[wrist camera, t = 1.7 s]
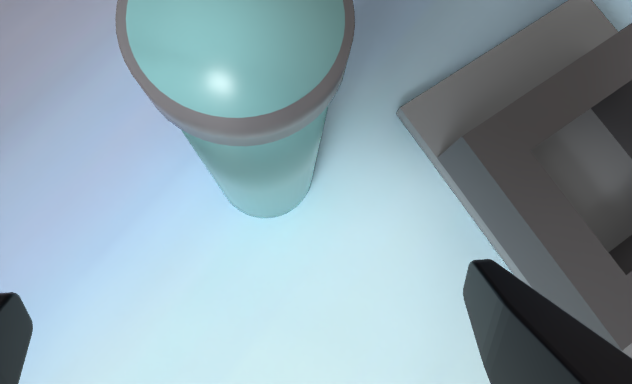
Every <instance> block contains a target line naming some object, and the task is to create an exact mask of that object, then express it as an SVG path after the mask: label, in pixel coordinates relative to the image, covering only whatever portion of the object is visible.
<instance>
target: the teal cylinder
mask: <svg viewBox="0 0 632 384" xmlns="http://www.w3.org/2000/svg"><path fill="white" fill-rule="evenodd" d="M354 27H355V17H354V7H353V1H352V0H118V2H117V8H116V34H117V38H118V43H119V48H120V50H121V53H122V56H123V58H124V61H125V63H126V65H127V66H128V68H129V70H130V72H131V74H132V75H133V77H134V78H135V79H136V81H137V82H138V84H139V85H140V86H141V88H142V89H143V90H144V92H145V93H146V95H147V96H148V97H149V99H150V100H151V101H152V103H153V104H154V105H155V107H156V108H157V109H158V110H159V111H160V112H161V113H162V114H163V115H164V116H165V117H166V118H167V119H168V120H169V121H170V122H172V123H173V124H174V125H175V126H177V127H178V128H180V129H181V130H182V132H183V133H184V135H185V136H186V138H187V139H188V141H189V142H190V144H191V145H192V147H193V148H194V150H195V151H196V153H197V154H198V156H199V157H200V159H201V160H202V162H203V163H204V165H205V166H206V168H207V169H208V171H209V172H210V174H211V175H212V177H213V178H214V180H215V181H216V183H217V184H218V186H219V187H220V189H221V190H222V192H223V193H224V195H225V196H226V198H227V199H228V200H229V202H230V203H231V204H232V205H233V206H234V207H235V208H237V209H238V210H240V211H241V212H243V213H245V214H247V215H250V216H253V217H258V218H272V217H277V216H281V215H283V214H286V213H288V212H289V211H291V210H293V209H294V208H295V207H297V206H298V205H299V204H300V203H301V201H302V200H303V199H304V198H305V196H306V194H307V192H308V190H309V188H310V184H311V180H312V176H313V171H314V167H315V163H316V158H317V154H318V149H319V145H320V140H321V136H322V131H323V127H324V122H325V118H326V113H327V109H328V105H329V103H330V102H331V101H332V99H333V97H334V96H335V94H336V92H337V91H338V88H339V86H340V84H341V81H342V79H343V75H344V72H345V68H346V64H347V60H348V57H349V53H350V49H351V45H352V41H353V36H354Z"/></svg>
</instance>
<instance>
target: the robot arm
mask: <svg viewBox="0 0 632 384" xmlns="http://www.w3.org/2000/svg"><path fill="white" fill-rule="evenodd" d="M463 296H464V301H465V305H466V308H467V311H468V315H469V318H470V322H471V325H472V328H473V332H474V335H475V338H476V342H477V345H478V349H479V352H480V355H481V359H482V362H483V365H484V368H485V370H486V373H487V375H488V378H489V380H490V383H491V384H632V358H631V357H629V356H628V355H627V354H625V353H624V352H622V351H621V350H619V349H618V348H617V347H615V346H614V345H612V344H611V343H609V342H608V341H607V340H605V339H604V338H602V337H601V336H600V335H598V334H597V333H595V332H594V331H592V330H591V329H590V328H588V327H587V326H585V325H584V324H582V323H581V322H580V321H578V320H577V319H575V318H574V317H573V316H571V315H570V314H568V313H567V312H565V311H564V310H563V309H561V308H560V307H558V306H557V305H555V304H554V303H553V302H551V301H550V300H548V299H547V298H546V297H544V296H543V295H541V294H540V293H538V292H537V291H536V290H534V289H533V288H531V287H530V286H528V285H527V284H526V283H524V282H523V281H521V280H520V279H519V278H517V277H516V276H514V275H513V274H511V273H510V272H509V271H507V270H506V269H504V268H503V267H501V266H500V265H499V264H497V263H496V262H494V261H493V260H490V259H484V260H473V261H471V262H470V264H469V267H468V271H467V275H466V279H465V284H464V288H463ZM32 331H33V324H32V320H31V318H30V316H29V314H28V312H27V310H26V308H25V306H24V304H23V302H22V300H21V298H20V296H19V295H18V294H16V293H13V292H10V293H0V384H18V383H19V379H20V376H21V372H22V368H23V365H24V361H25V357H26V354H27V350H28V346H29V343H30V339H31V336H32Z"/></svg>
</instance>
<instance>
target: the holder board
mask: <svg viewBox="0 0 632 384" xmlns="http://www.w3.org/2000/svg"><path fill="white" fill-rule="evenodd" d="M396 114H397V116H398V117H399V118H400V120H401V121H402V122H403V124H404V125H405V127H406V128H407V129H408V131H409V132H410V133H411V135H412V136H413V137H414V139H415V140H416V142H417V143H418V144H419V146H420V147H421V148H422V150H423V151H424V153H425V154H426V155H427V157H428V158H429V159H430V161H431V162H432V163H433V165H434V166H435V168H436V169H437V170H438V172H439V173H440V174H441V176H442V177H443V179H444V180H445V181H446V183H447V184H448V185H449V187H450V188H451V189H452V191H453V192H454V194H455V195H456V196H457V198H458V199H459V200H460V202H461V203H462V205H463V206H464V207H465V209H466V210H467V211H468V213H469V214H470V215H471V217H472V218H473V220H474V221H475V222H476V224H477V225H478V226H479V228H480V229H481V231H482V232H483V233H484V235H485V236H486V237H487V239H488V240H489V241H490V243H491V244H492V246H493V247H494V248H495V250H496V251H497V252H498V254H499V255H500V257H501V258H502V259H503V261H504V262H505V263H506V265H507V266H508V267H509V269H510V270H511V272H512V273H513V274H514V276H516V277H517V278H519V279H520V280H521V281H523V282H524V283H526V284H527V285H528V286H530V287H531V288H533V289H534V290H536V291H537V292H538V293H540V294H541V295H543V296H544V297H546V298H547V299H548V300H550V301H551V302H553V303H554V304H555V305H557V306H558V307H560V308H561V309H563V310H564V311H565V312H567V313H568V314H570V315H571V316H573V317H574V318H575V319H577V320H578V321H580V322H581V323H582V324H584V325H585V326H587V327H588V328H590V329H591V330H592V331H594V332H595V333H597V334H598V335H600V336H601V337H602V338H604V339H605V340H607V341H608V342H609V343H611V344H612V345H614V346H615V347H617V348H618V349H619V350H621V351H622V352H624V353H625V354H627V355H628V356H629V357H631V358H632V23H631V24H630V25H628V26H627V27H625V28H624V29H622V30H621V31H619V32H618V31H617V30H616V29H615V27H614V26H613V25H612V24H611V23H610V21H609V20H608V19H607V18H606V17H605V15H604V14H603V13H602V12H601V11H600V9H599V8H598V7H597V6H596V5H595V3H594V2H593V1H592V0H568V1H567V2H565V3H563V4H562V5H560V6H559V7H557V8H556V9H554V10H552V11H551V12H549V13H548V14H546V15H545V16H543V17H541V18H540V19H538V20H537V21H535V22H534V23H532V24H530V25H529V26H527V27H526V28H524V29H523V30H521V31H519V32H518V33H516V34H515V35H513V36H512V37H510V38H508V39H507V40H505V41H504V42H502V43H501V44H499V45H497V46H496V47H494V48H493V49H491V50H490V51H488V52H486V53H485V54H483V55H482V56H480V57H479V58H477V59H475V60H474V61H472V62H471V63H469V64H468V65H466V66H464V67H463V68H461V69H460V70H458V71H457V72H455V73H453V74H452V75H450V76H449V77H447V78H446V79H444V80H442V81H441V82H439V83H438V84H436V85H435V86H433V87H431V88H430V89H428V90H427V91H425V92H424V93H422V94H420V95H419V96H417V97H416V98H414V99H412V100H411V101H409V102H408V103H406V104H405V105H403V106H401V107H400V108H399V110H398V111H397V113H396Z"/></svg>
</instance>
